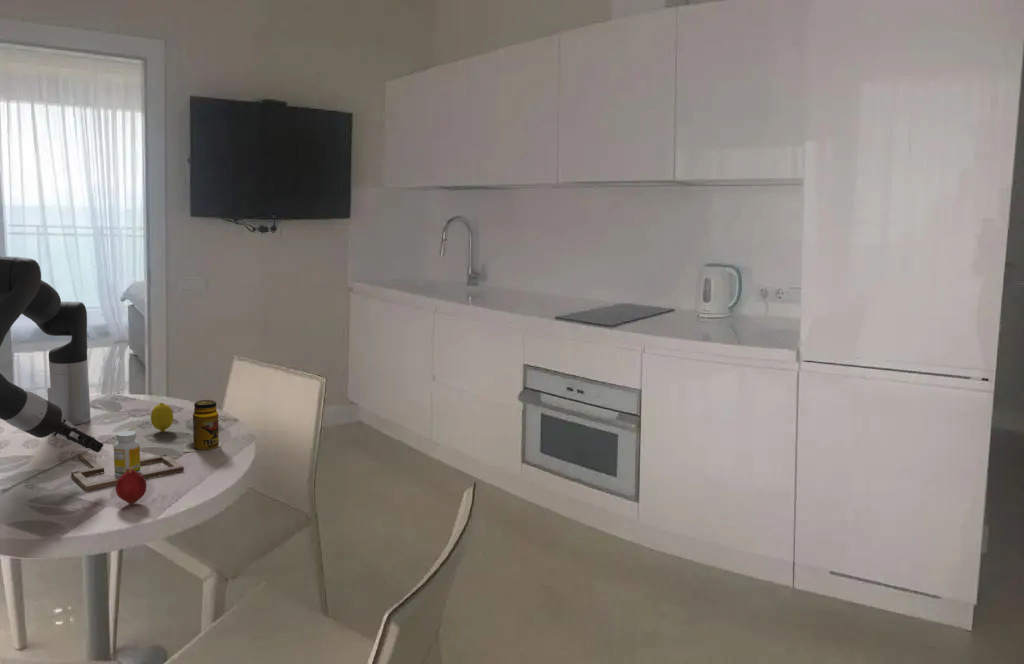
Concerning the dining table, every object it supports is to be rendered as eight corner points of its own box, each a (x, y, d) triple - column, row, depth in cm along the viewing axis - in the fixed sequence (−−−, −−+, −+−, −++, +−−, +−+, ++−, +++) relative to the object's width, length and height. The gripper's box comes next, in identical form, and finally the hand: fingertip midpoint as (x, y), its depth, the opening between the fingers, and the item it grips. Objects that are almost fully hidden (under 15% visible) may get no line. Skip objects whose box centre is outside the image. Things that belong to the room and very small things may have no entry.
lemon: (177, 429, 220) (176, 400, 219) (167, 435, 215) (166, 406, 213) (158, 427, 221) (157, 399, 219) (147, 433, 215) (146, 404, 214)
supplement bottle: (114, 478, 183) (112, 437, 181) (115, 470, 188) (113, 430, 186) (140, 475, 185) (139, 435, 184) (140, 468, 190) (139, 428, 188)
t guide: (55, 461, 192) (55, 457, 192) (147, 445, 206) (147, 441, 206) (86, 490, 175) (86, 486, 175) (183, 470, 190) (183, 466, 189)
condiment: (218, 451, 204) (217, 405, 202) (182, 452, 202) (181, 406, 200) (222, 442, 211) (221, 397, 209) (187, 443, 209) (186, 398, 207)
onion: (123, 498, 172) (121, 462, 171) (151, 498, 173) (149, 462, 171) (112, 509, 166) (110, 472, 165) (141, 509, 167) (139, 472, 166)
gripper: (61, 407, 166) (118, 437, 179) (23, 388, 173) (80, 418, 186) (39, 439, 164) (98, 467, 177) (0, 419, 171) (60, 447, 184)
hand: (89, 442), depth 182 cm, fingers open, 8 cm apart
